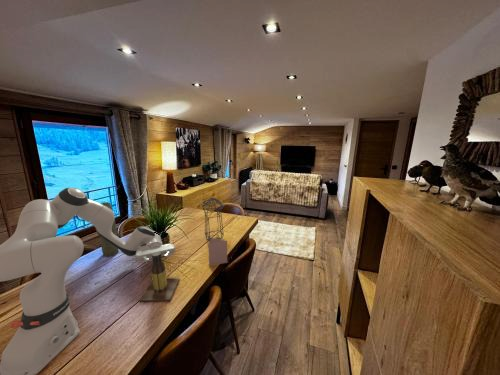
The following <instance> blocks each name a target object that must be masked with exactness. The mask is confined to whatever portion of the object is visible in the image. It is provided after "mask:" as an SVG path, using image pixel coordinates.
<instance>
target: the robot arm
mask: <svg viewBox="0 0 500 375" xmlns="http://www.w3.org/2000/svg"><path fill="white" fill-rule="evenodd" d="M100 203H101V202H98V201H95V200H92V199H89V198H88V196H87V194H86V193H85V192H84V191H82V189H79V188H77V187H66V188H63V189H62V190H61V191H59V192H58V194H57V195H56V196H55V197H54V198H53V199H52V200H49V199H43V198H41V199H40V198H39V199H34V200H32V201H29V202H28V203H26V204H25V206H24V207H23V209H22V210H21V213H20V215H19V217H18V222H17V226H16V229H15V231H14V233H13V234H12V235H11V236H10V237H9V238H8V239H6V240H5V241H4V242H3V243H1V244H0V282H7V281H11V280H14V279H15V280H16V279H18V278H22V277H25V276H29V275H33V274H39V273H41V274H39V275H38V276H36V277H35V278H33V279H31V281H29V282H28V283H27V284H26V285H25V286H24V287H23V288H22V289H21V291H20V293H19V300H20V304H21V308H22V313H21V316H20V320H13V321H12V322H11V323H10V326H9V328H11V329H14V328H16V329H17V328H18V329H17V330H16V332H15V333H14V335H13V336H12V337H11V339H10V341H9V342H8V344H7V345H6V347H4V350H3V351H2V353H1V357H0V375H38V373H39V372H41V371H42V370H43V369H44V368H45V367H46V366H47V365H48V364H49V363H50V362H51V361H52V360H53V359H54V358H56V356H58V355H59V354H60V353H61V352H62V351H63V350H64V349H65V348H66V347H67V346H68V345H70V343H71V342H72V341H74V340H75V338H77V336H78V335H80V333H81V330H80V328H79V322H78V320H77V318H75V317H74V315H73V314H74V313H73V312H72V309H71V308H70V298H69V295H68V293H67V292H66V285H65V283H66V281H65V278H66V274H67V272H68V270H69V269H70V267H71V266H72V265H73V264H74V263H75V262H76V261H77V260H79V259H80V258H81V257H82V255H83V253H84V248H85V247H84V242H83V240H82V239H81V238H80V237H79V236H77V235H75V234H73V235H58V236H56V235H57V234H58V231H59V229H63V227H65V226H66V225H68V224H69V222H70V221H71V220H72V219H73V218H74V217H76V216H77V217H78V218H80V219H81V220H83V221H85V222H87V223H89V224H90V225H92V226H93V227H94V228H95V230H96V231H95V232H96V234H97V235H98V236H99V237H100V238H101V237H102V238H103V239H105V240H106V241H108V242H109V243H111V244H112V245H114V246H115V247H117V248H118V250H119V251H120V252H122V254H124V255H126V256H127V257H133V256H134V257H135V262H137V263H139V262H143V261H144V262H145V263H146V264H147V263H150V260H151V259H152V260H153V258H152V254H153V253H155V252H161V257H164V259H168V258H169V256H170V255H174V254H175V253H176V247H175V245H174V244H173V243H165V244H163V241H162V238H161V236H160V234H159V233H158V234H159V235H158V234H156V233H157V232H156V233H154V232H155V230H153V229H152V228H150V227H148V226H146V225H140V226H137V227H136V228H135V229H134V230H133V232H131V234H130V236H129V237H128V238H127V239H126V240H123V239H122V238H120V237H119V236H117V234H116V235H114V234H113V233H112V225H113V222H114V220H115V212H114V211H113V209H112V210H111V209H110V208H108V207H106V206H104V205H102V204H100ZM100 209H101V210H100Z"/></svg>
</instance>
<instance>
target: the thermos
mask: <svg viewBox="0 0 500 375" xmlns="http://www.w3.org/2000/svg"><path fill="white" fill-rule="evenodd" d="M99 203H100V204H102V205H104V206H106V207H108V208H110V209H111V210H112V211H113V206H112V205H111V203H110V202H99ZM100 210H101V209H100ZM116 225H117V224H116V219H114V222H113V225H112V233H113V234H114V235H116V236H117V233H116V228H117V227H116ZM100 238H101V240H100V241H101V252H102V256H103V257H104V258H109V257H113V256H116V255H118V253H119V252H120V250H119V249H118V248H117V247H115V246H114V245H112V244H111V243H109V242H108V241H106V240H105V239H103V238H102V237H101V236H100Z"/></svg>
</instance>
